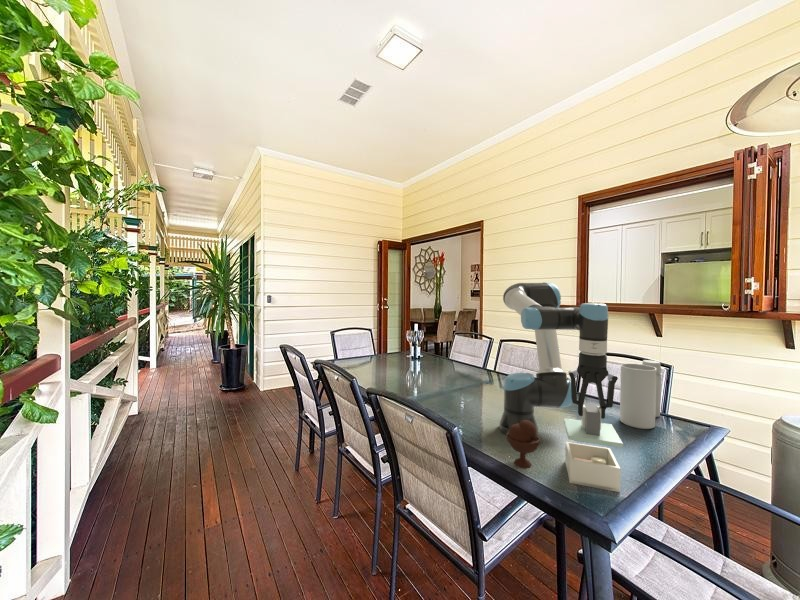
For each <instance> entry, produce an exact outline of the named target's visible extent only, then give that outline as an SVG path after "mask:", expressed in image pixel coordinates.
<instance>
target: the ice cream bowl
mask: <svg viewBox="0 0 800 600" xmlns="http://www.w3.org/2000/svg"><path fill="white" fill-rule="evenodd" d="M536 431H537V430H536V426H535V425H534V424H533V423H532V422H531V421H529V420H523V421H521V422H520V423H516V424H514V425H512V426H511V427H510V430H509V431H508V432H507V433H506V434H505V438H506V440H507V443H508V444H509V445H510V447H511V448H512V449H513V450H514V451H516V452H517V453H519V458H516V459H515V460H513V463H514V465H515V466H517V467H519V468H522V469H529V468H531V467H532V463H531V462H530V460H529V459H527V458H526V457H527V455H526V454H531V453H533V452H534V451H536V450H537V448H538V447H539V445H540V444H541V441H542V438H541V437H540V436H539V434H538V435H537V433H536Z"/></svg>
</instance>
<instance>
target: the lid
mask: <svg viewBox="0 0 800 600" xmlns="http://www.w3.org/2000/svg"><path fill="white" fill-rule="evenodd" d="M584 404H585V407H586V419H585V428H583V427H582V424H581V419H573V418H565V417H564V418H563V425H564V427H565V431H566V435H567V439H568V440H569V441H573V442H578V443H579V442H580V443H585V444H586V443H587V444H594V445H599V446H600V445H601V446H608V447H613V448H622V449H623V448H624V443H623V441H622V439H621V438H620V436H619V434H618V432H617V431H616V429H615V428H614V426H613V424H612V423H604V422H601V430H600V412H599V410H598V408H597V406H598V405H596V404H595V403H587V402H584Z"/></svg>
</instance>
